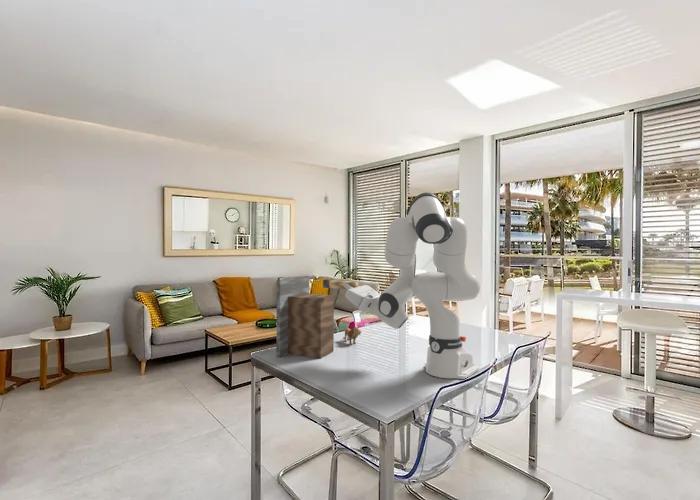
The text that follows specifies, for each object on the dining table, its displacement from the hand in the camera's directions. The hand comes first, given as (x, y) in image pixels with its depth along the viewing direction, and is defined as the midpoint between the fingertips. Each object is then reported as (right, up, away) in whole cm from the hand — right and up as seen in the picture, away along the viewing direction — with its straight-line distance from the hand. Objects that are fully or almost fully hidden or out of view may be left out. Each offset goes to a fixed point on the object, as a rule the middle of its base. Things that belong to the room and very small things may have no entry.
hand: (347, 284), depth 163 cm
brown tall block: (-18, -32, +8) cm, 38 cm away
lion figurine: (+2, -32, +25) cm, 41 cm away
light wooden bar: (-3, -2, +1) cm, 4 cm away
